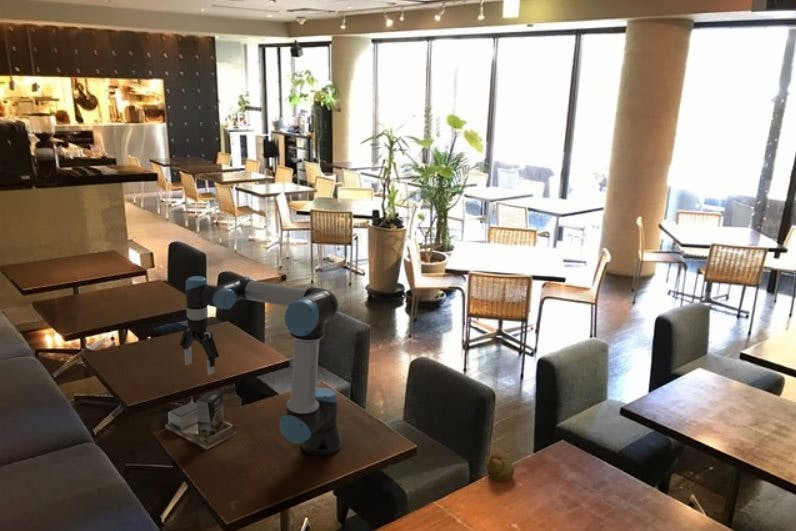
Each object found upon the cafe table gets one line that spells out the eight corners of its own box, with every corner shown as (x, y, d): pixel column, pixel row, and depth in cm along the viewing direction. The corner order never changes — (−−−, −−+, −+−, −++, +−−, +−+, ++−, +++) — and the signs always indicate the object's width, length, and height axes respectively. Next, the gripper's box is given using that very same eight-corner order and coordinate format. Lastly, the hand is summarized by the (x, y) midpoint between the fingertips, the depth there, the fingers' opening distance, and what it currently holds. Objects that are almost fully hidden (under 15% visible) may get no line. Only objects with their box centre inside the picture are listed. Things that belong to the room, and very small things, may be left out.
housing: (205, 418, 251) (204, 406, 249) (180, 429, 241) (180, 417, 240) (192, 412, 255) (192, 400, 254) (168, 423, 246) (167, 411, 245)
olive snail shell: (486, 462, 229) (488, 443, 227) (512, 465, 227) (514, 446, 225) (485, 482, 217) (487, 462, 215) (513, 485, 215) (515, 465, 213)
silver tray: (236, 434, 242) (235, 426, 241) (206, 449, 231) (206, 440, 230) (194, 414, 257) (194, 406, 256) (165, 427, 246) (164, 419, 245)
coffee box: (212, 441, 235) (210, 403, 231) (197, 438, 236) (195, 400, 232) (225, 429, 243) (223, 392, 239) (210, 427, 245) (208, 390, 241)
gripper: (227, 322, 227) (228, 374, 232) (185, 307, 240) (187, 357, 246) (210, 327, 221) (212, 381, 226) (168, 312, 234) (171, 363, 240)
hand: (199, 368), depth 236 cm, fingers open, 13 cm apart
